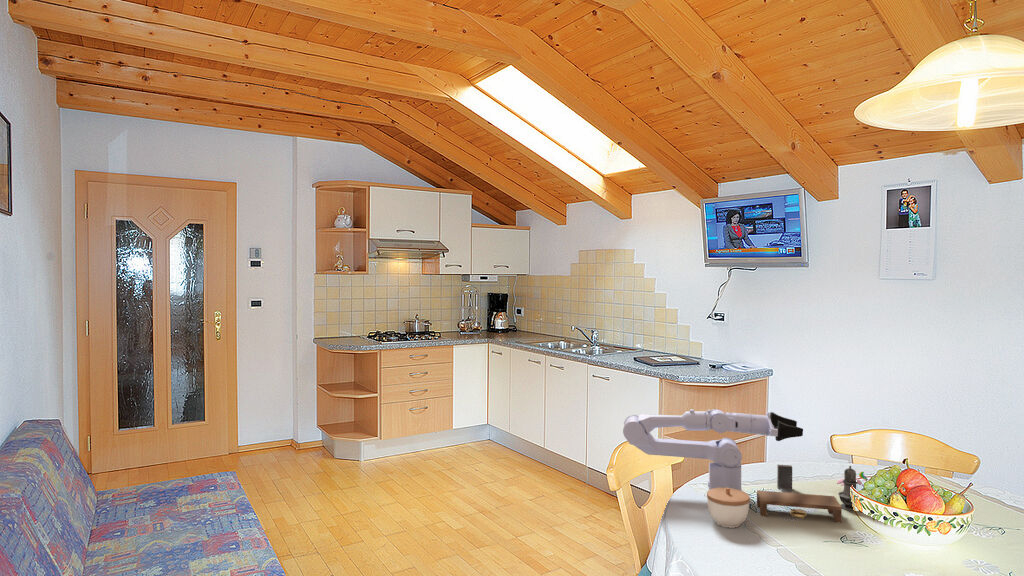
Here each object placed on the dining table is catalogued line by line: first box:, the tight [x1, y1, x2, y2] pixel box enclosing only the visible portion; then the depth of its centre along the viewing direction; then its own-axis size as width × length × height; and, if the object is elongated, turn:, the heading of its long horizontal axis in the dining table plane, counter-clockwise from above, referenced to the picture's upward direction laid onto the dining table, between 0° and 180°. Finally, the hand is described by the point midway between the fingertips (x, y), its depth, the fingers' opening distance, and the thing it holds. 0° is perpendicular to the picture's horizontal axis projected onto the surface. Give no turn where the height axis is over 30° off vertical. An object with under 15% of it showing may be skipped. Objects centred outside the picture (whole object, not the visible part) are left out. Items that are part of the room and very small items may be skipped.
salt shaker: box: [837, 465, 857, 512], centre depth 173 cm, size 6×6×12 cm
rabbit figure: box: [836, 471, 869, 487], centre depth 188 cm, size 6×6×15 cm
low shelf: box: [756, 489, 843, 524], centre depth 170 cm, size 20×8×4 cm, turn 75°
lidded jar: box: [706, 488, 751, 529], centre depth 164 cm, size 11×11×9 cm
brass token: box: [790, 508, 807, 519], centre depth 169 cm, size 4×4×1 cm
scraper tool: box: [776, 464, 794, 493], centre depth 183 cm, size 5×15×7 cm, turn 165°
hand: (799, 428), depth 181 cm, fingers open, 7 cm apart
